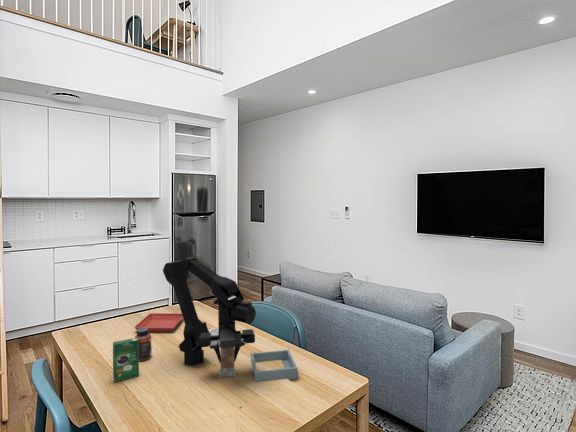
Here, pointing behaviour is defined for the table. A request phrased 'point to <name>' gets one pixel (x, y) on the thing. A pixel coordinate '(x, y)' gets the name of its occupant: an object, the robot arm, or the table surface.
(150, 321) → the plant saucer
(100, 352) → the table surface
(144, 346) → the supplement bottle
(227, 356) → the strut
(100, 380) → the table surface
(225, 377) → the knob on square plate
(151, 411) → the table surface
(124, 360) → the coffee box
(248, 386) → the table surface
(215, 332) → the teacup
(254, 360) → the bin
